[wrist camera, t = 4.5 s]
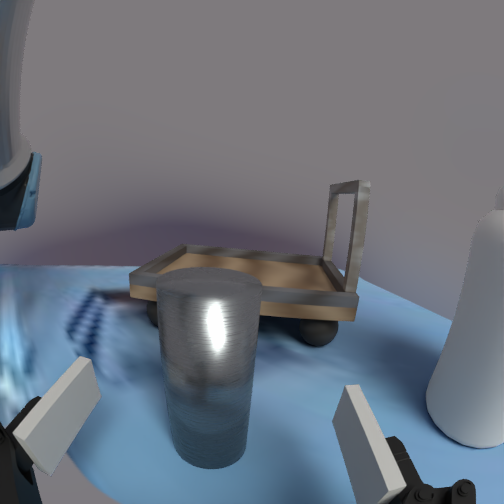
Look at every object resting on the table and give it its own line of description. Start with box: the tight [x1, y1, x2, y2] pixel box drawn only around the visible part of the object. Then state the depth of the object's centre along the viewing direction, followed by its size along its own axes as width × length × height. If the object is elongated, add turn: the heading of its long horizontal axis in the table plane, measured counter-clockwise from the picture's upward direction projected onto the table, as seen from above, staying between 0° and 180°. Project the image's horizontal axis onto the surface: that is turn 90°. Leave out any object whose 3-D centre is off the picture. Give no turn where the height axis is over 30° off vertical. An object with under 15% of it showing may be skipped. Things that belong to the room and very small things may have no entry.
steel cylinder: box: [156, 267, 262, 469], centre depth 14 cm, size 5×5×12 cm
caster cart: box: [129, 180, 370, 346], centre depth 35 cm, size 24×18×19 cm
